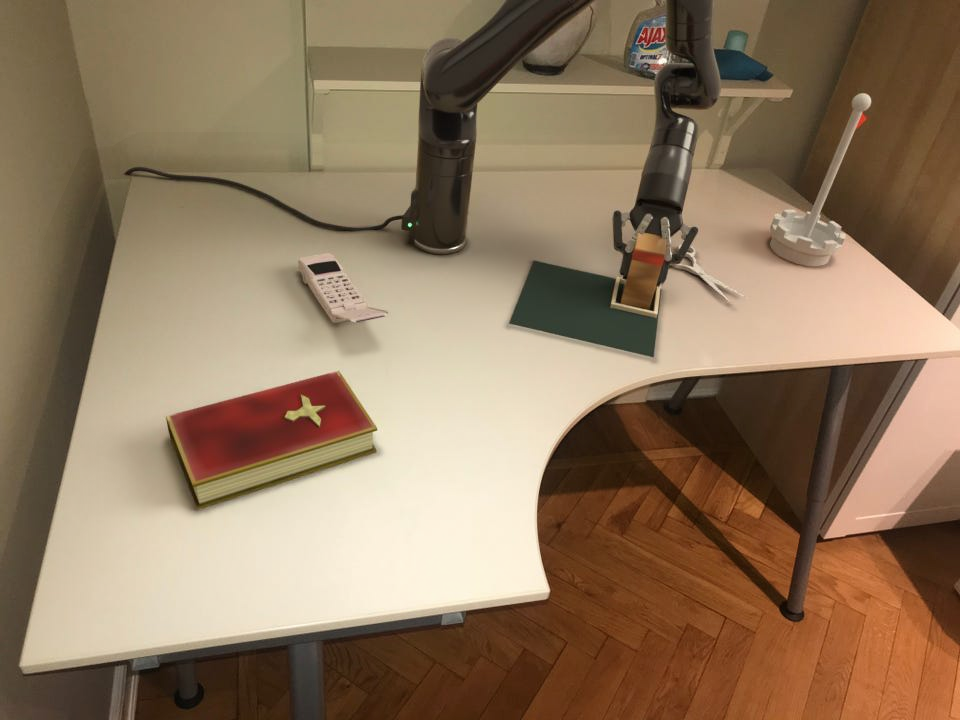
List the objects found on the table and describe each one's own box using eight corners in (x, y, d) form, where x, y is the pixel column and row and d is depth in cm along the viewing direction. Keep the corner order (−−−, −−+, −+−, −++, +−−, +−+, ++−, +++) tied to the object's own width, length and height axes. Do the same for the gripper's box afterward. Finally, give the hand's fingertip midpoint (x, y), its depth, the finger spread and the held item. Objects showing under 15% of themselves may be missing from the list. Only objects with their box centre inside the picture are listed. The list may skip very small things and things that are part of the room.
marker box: (619, 305, 122) (634, 247, 116) (623, 286, 127) (638, 230, 121) (648, 311, 122) (665, 254, 115) (651, 292, 126) (667, 236, 120)
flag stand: (812, 276, 138) (884, 113, 119) (751, 244, 145) (810, 86, 127) (847, 257, 145) (920, 101, 127) (787, 228, 152) (847, 76, 134)
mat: (508, 325, 115) (509, 318, 114) (533, 262, 131) (534, 256, 130) (652, 360, 112) (655, 353, 112) (660, 291, 128) (662, 284, 127)
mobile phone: (350, 321, 102) (290, 232, 118) (349, 356, 105) (291, 265, 122) (391, 313, 104) (327, 227, 121) (389, 347, 108) (327, 259, 124)
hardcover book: (169, 438, 90) (164, 412, 87) (337, 392, 99) (337, 366, 97) (197, 510, 82) (192, 483, 79) (376, 452, 92) (377, 426, 89)
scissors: (680, 239, 142) (763, 293, 129) (679, 242, 142) (761, 297, 130) (638, 249, 137) (719, 307, 124) (637, 253, 137) (718, 311, 125)
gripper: (622, 162, 119) (597, 265, 117) (714, 180, 118) (690, 286, 116) (618, 180, 127) (595, 278, 125) (705, 198, 125) (682, 297, 123)
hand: (641, 281), depth 120 cm, fingers closed on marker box, 4 cm apart
